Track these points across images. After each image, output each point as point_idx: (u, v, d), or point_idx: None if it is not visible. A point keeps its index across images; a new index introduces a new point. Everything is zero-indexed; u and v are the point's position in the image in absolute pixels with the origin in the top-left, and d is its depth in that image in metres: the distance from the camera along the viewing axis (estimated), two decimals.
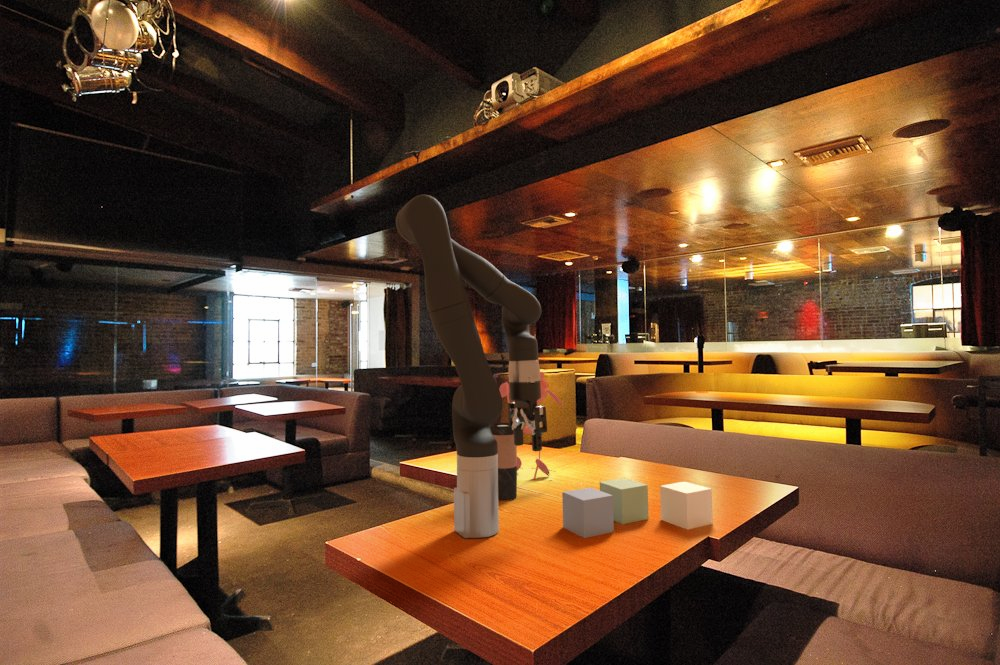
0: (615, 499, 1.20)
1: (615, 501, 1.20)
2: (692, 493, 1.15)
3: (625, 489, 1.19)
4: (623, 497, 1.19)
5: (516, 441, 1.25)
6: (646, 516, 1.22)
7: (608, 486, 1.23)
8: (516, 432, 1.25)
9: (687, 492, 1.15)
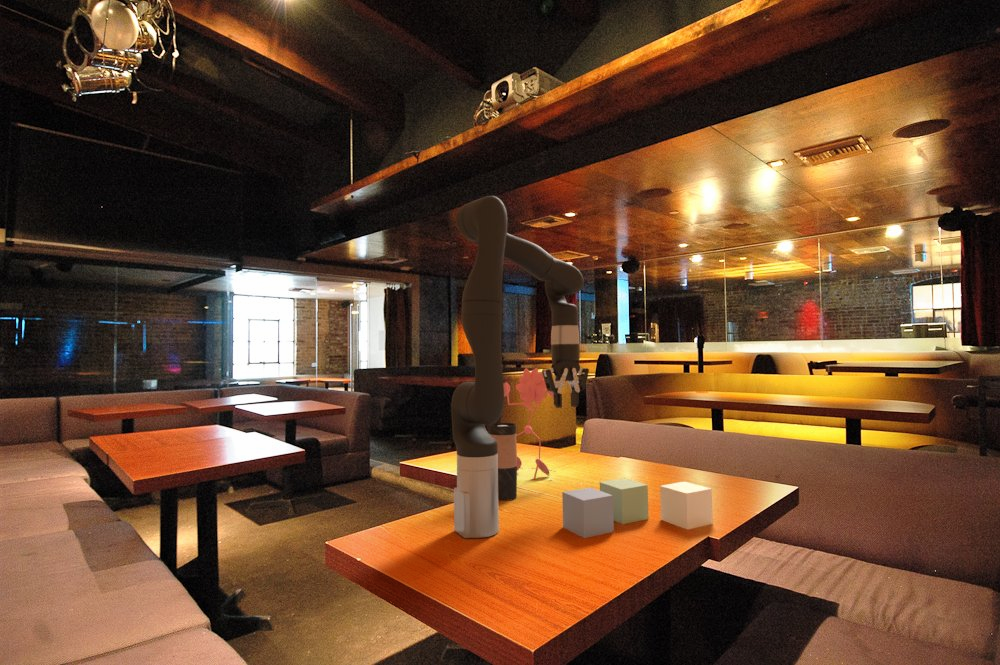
0: (615, 499, 1.20)
1: (615, 501, 1.20)
2: (692, 493, 1.15)
3: (625, 489, 1.19)
4: (623, 497, 1.19)
5: None
6: (646, 516, 1.22)
7: (608, 486, 1.23)
8: None
9: (687, 492, 1.15)
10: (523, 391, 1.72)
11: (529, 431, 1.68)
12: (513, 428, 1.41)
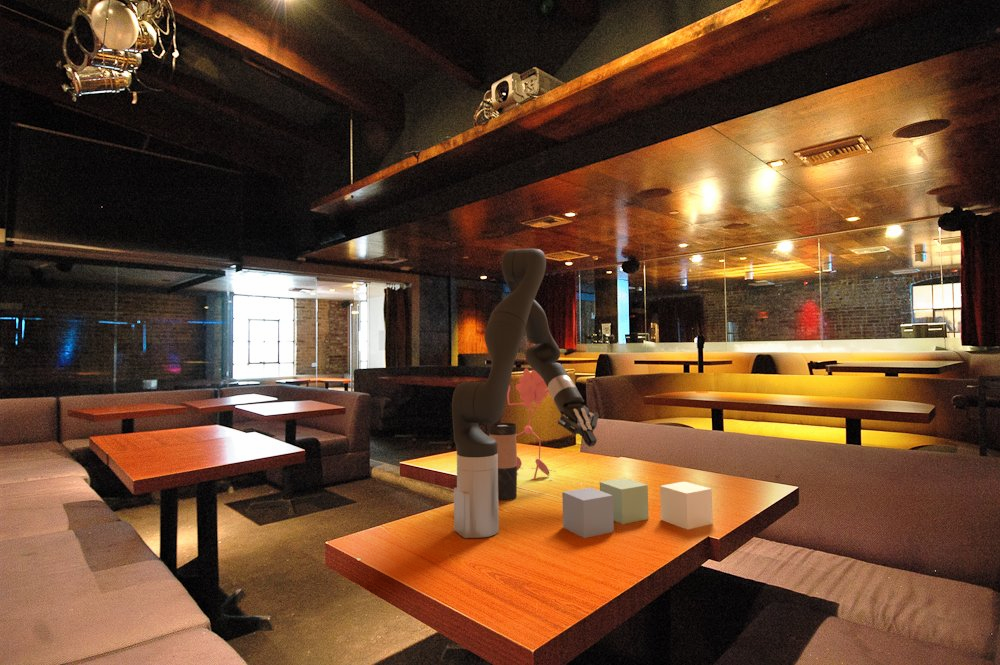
0: (616, 499, 1.20)
1: (615, 501, 1.20)
2: (692, 493, 1.15)
3: (625, 489, 1.19)
4: (624, 497, 1.19)
5: None
6: (646, 516, 1.22)
7: (608, 486, 1.23)
8: None
9: (687, 492, 1.15)
10: (523, 391, 1.72)
11: (529, 431, 1.68)
12: (513, 428, 1.41)
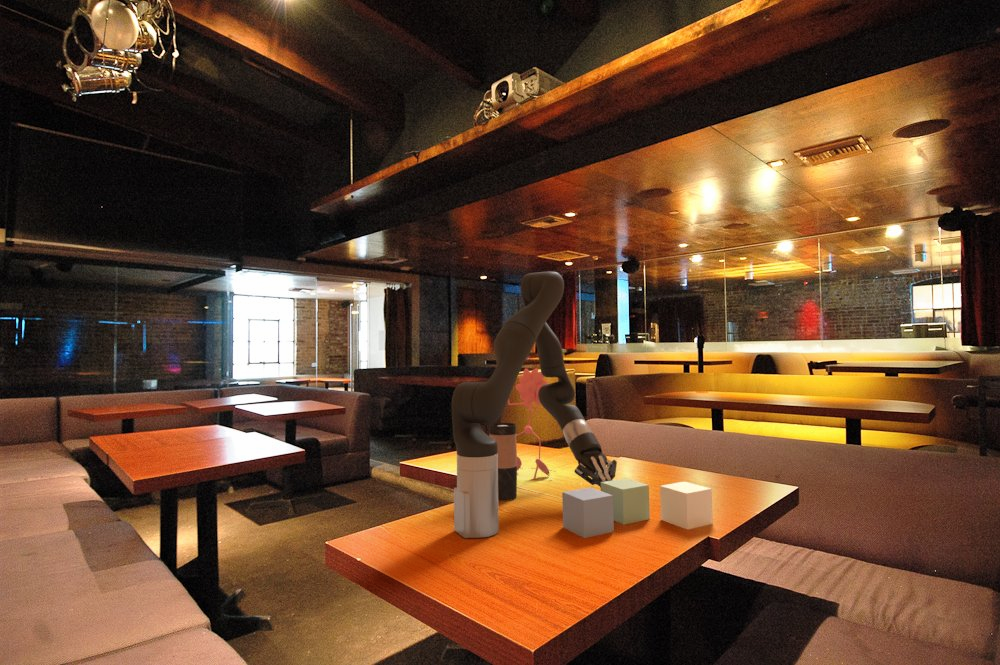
0: (617, 499, 1.20)
1: (616, 501, 1.20)
2: (692, 493, 1.15)
3: (626, 489, 1.19)
4: (625, 497, 1.19)
5: None
6: (647, 516, 1.21)
7: (609, 486, 1.22)
8: None
9: (687, 492, 1.15)
10: (523, 391, 1.72)
11: (529, 431, 1.68)
12: (513, 428, 1.41)
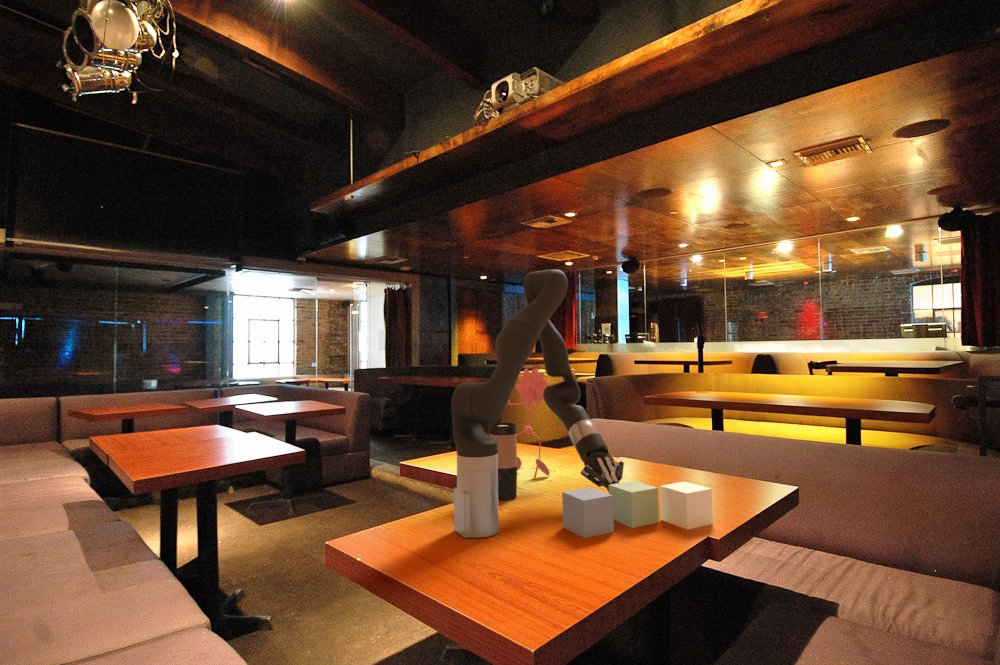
0: (625, 502, 1.17)
1: (625, 505, 1.18)
2: (692, 493, 1.15)
3: (635, 492, 1.16)
4: (634, 500, 1.16)
5: None
6: (656, 520, 1.19)
7: (617, 489, 1.20)
8: None
9: (687, 492, 1.15)
10: (523, 391, 1.72)
11: (529, 431, 1.68)
12: (513, 428, 1.41)
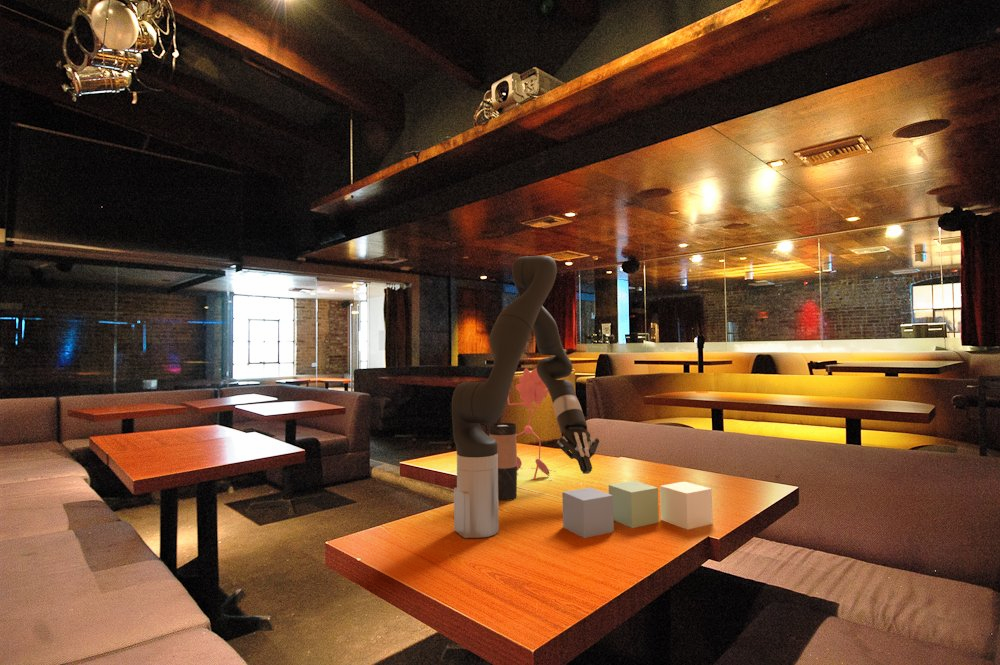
0: (625, 502, 1.17)
1: (625, 505, 1.18)
2: (692, 493, 1.15)
3: (635, 492, 1.16)
4: (634, 500, 1.16)
5: None
6: (656, 520, 1.19)
7: (617, 489, 1.20)
8: None
9: (687, 492, 1.15)
10: (523, 391, 1.72)
11: (529, 431, 1.68)
12: (513, 428, 1.41)
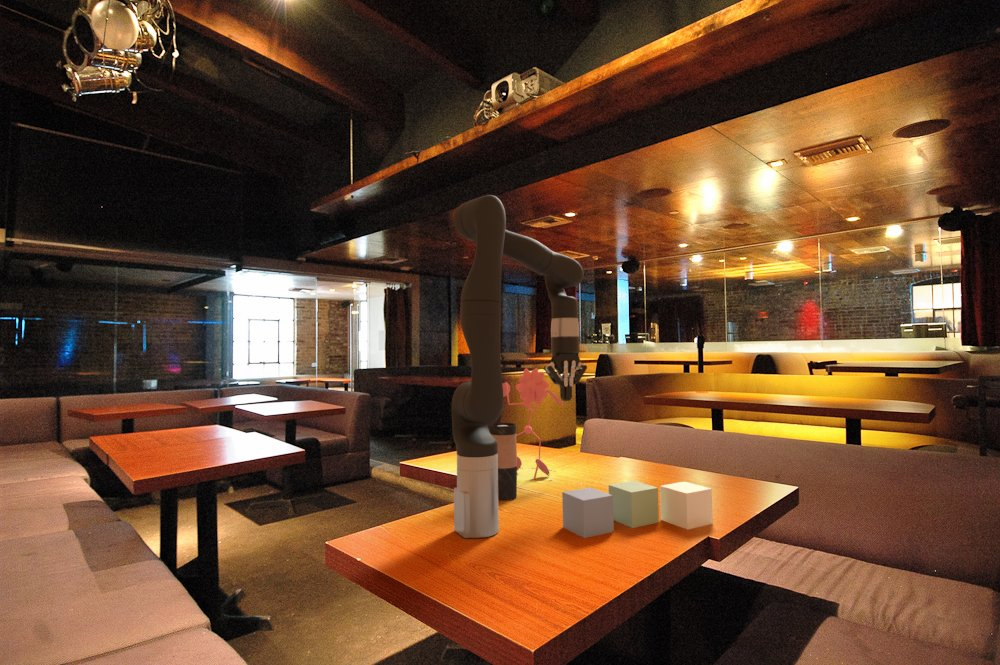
0: (625, 502, 1.17)
1: (625, 505, 1.18)
2: (692, 493, 1.15)
3: (635, 492, 1.16)
4: (634, 500, 1.16)
5: None
6: (656, 520, 1.19)
7: (617, 489, 1.20)
8: None
9: (687, 492, 1.15)
10: (523, 391, 1.72)
11: (529, 431, 1.68)
12: (513, 428, 1.41)
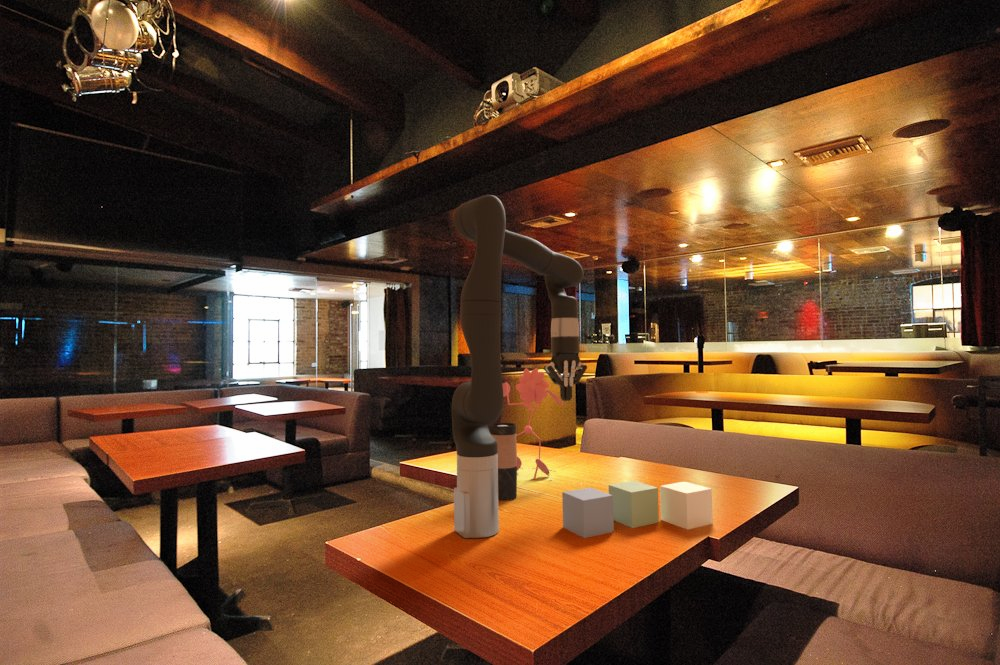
0: (625, 502, 1.17)
1: (625, 505, 1.18)
2: (692, 493, 1.15)
3: (635, 492, 1.16)
4: (634, 500, 1.16)
5: None
6: (656, 520, 1.19)
7: (617, 489, 1.20)
8: None
9: (687, 492, 1.15)
10: (523, 391, 1.72)
11: (529, 431, 1.68)
12: (513, 428, 1.41)
